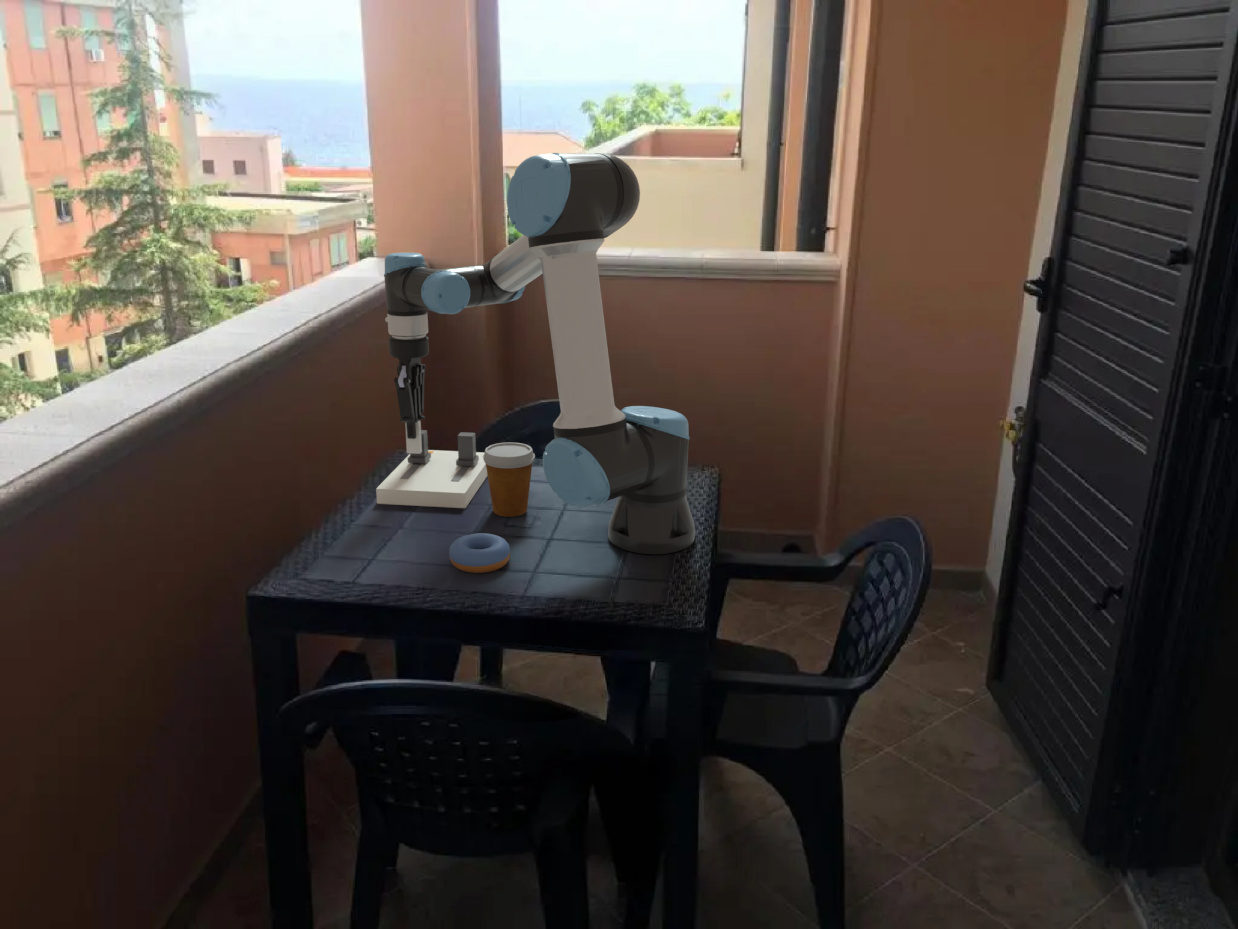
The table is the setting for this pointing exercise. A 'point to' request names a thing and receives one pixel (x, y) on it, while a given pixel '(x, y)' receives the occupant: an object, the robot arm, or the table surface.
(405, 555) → the table surface
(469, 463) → the block
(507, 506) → the disposable coffee cup
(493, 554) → the doughnut
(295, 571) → the table surface
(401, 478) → the panel
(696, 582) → the table surface
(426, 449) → the block
